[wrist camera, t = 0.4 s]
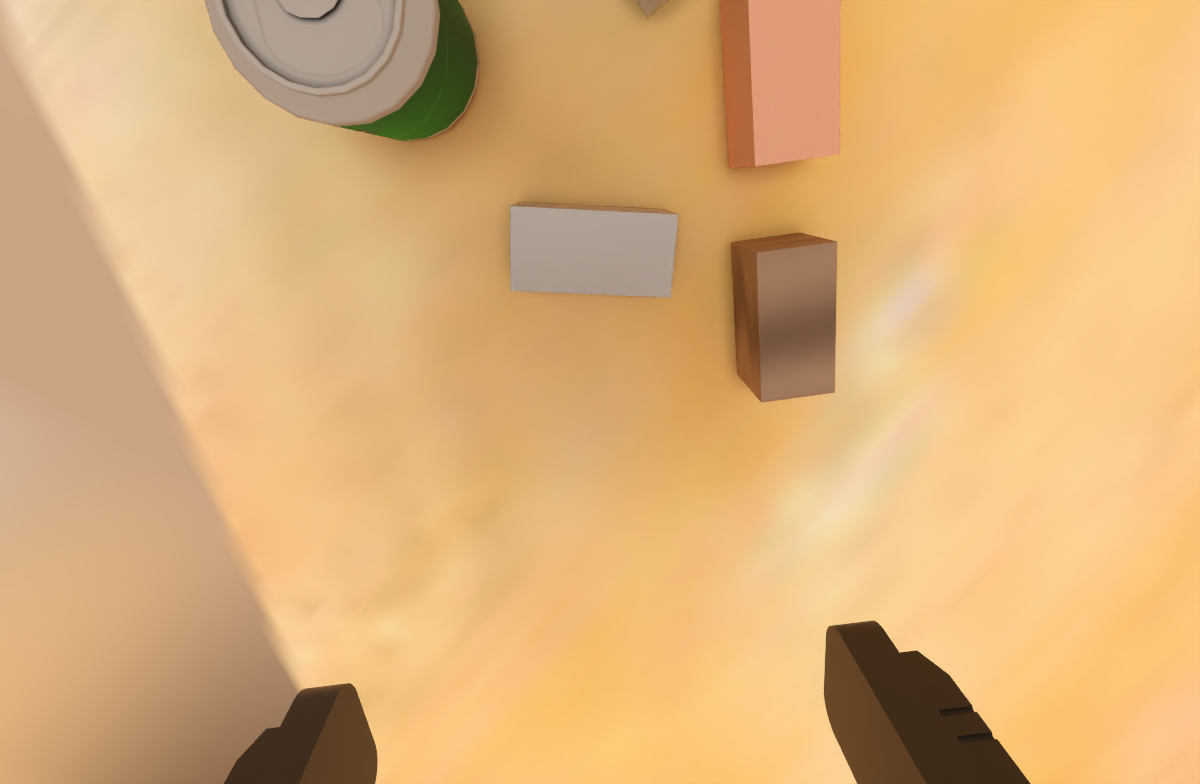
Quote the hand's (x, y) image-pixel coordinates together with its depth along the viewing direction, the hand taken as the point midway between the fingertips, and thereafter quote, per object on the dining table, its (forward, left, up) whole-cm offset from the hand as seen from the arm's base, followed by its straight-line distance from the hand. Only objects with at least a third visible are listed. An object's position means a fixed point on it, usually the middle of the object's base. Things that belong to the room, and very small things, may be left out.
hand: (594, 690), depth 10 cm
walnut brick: (0, +11, -26) cm, 29 cm away
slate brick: (-5, +1, -26) cm, 27 cm away
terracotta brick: (-12, +11, -26) cm, 31 cm away
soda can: (-15, -7, -27) cm, 31 cm away
